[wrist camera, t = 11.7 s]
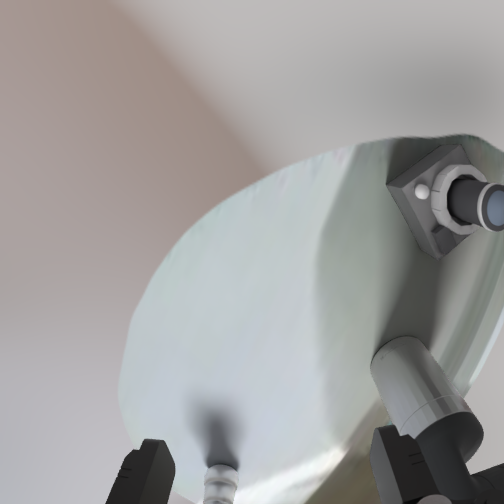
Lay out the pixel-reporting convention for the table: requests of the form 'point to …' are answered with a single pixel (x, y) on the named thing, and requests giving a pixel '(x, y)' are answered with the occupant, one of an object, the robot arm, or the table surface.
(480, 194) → the lens
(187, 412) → the table surface
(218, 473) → the plastic bottle
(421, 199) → the camera body
